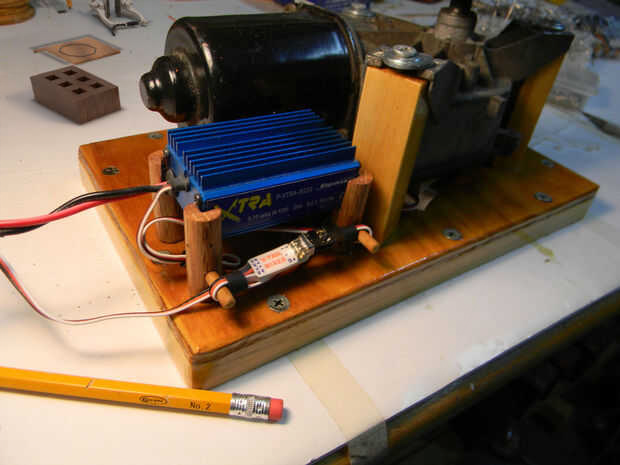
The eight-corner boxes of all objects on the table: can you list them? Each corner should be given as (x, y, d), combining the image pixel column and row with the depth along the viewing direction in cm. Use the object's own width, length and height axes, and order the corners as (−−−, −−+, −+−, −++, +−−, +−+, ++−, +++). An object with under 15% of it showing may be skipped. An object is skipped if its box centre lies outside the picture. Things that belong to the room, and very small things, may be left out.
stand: (81, 128, 92) (75, 100, 89) (36, 104, 97) (29, 76, 93) (121, 113, 99) (118, 86, 95) (77, 91, 104) (72, 64, 100)
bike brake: (83, 10, 141) (113, 43, 133) (81, -14, 136) (112, 19, 128) (127, 7, 149) (158, 38, 141) (127, -15, 144) (159, 16, 136)
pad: (66, 67, 112) (65, 64, 112) (33, 52, 116) (33, 49, 116) (120, 52, 123) (120, 50, 123) (89, 39, 127) (88, 36, 127)
